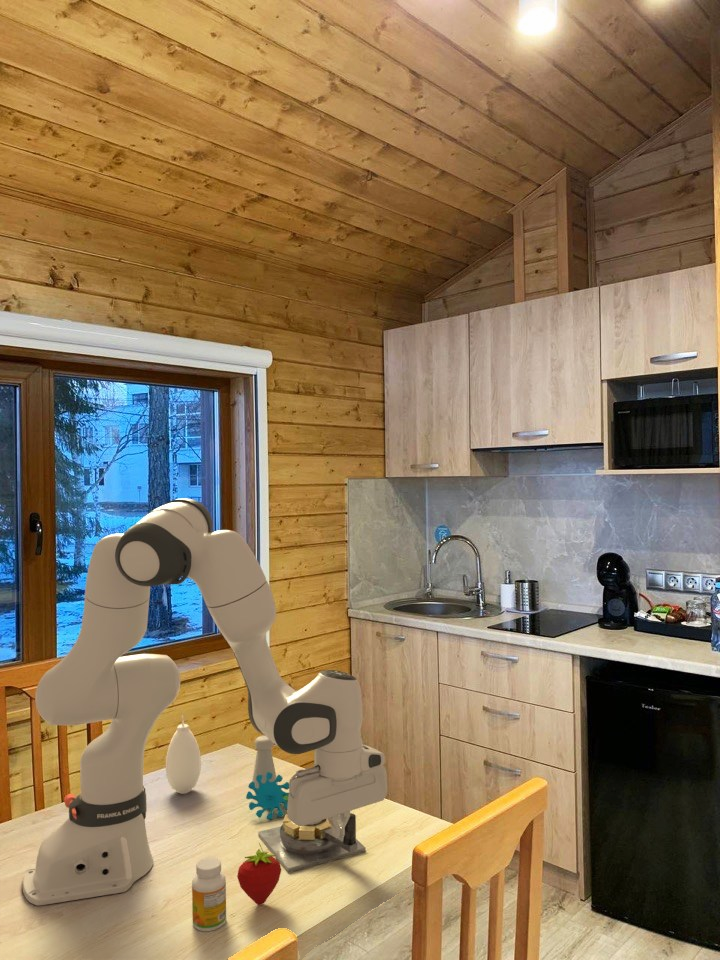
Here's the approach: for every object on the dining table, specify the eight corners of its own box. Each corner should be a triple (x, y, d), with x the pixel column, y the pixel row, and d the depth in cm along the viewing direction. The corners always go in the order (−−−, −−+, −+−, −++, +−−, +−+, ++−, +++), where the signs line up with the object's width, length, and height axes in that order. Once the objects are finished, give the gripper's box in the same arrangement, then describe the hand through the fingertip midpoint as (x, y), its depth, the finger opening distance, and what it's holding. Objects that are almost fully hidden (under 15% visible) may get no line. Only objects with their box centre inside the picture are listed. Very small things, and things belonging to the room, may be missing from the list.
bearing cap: (288, 872, 138) (287, 840, 138) (258, 835, 152) (258, 806, 152) (365, 851, 145) (365, 820, 145) (330, 818, 160) (329, 789, 159)
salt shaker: (250, 790, 174) (249, 734, 174) (274, 787, 176) (274, 731, 175) (254, 801, 168) (253, 743, 168) (279, 797, 170) (279, 740, 170)
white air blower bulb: (196, 799, 169) (195, 719, 169) (161, 799, 170) (160, 719, 169) (204, 785, 177) (203, 708, 177) (172, 785, 177) (170, 708, 177)
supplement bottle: (190, 916, 125) (189, 858, 125) (222, 909, 127) (222, 852, 126) (195, 935, 120) (194, 874, 119) (229, 927, 122) (228, 867, 121)
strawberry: (233, 900, 129) (232, 842, 129) (275, 889, 132) (274, 833, 132) (243, 919, 124) (242, 858, 124) (286, 907, 127) (285, 848, 127)
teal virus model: (246, 817, 157) (247, 770, 164) (242, 828, 161) (243, 782, 168) (299, 817, 160) (297, 771, 167) (293, 828, 164) (291, 783, 171)
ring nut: (331, 862, 135) (331, 827, 135) (273, 826, 149) (273, 794, 149) (374, 843, 142) (374, 809, 142) (315, 810, 156) (315, 780, 156)
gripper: (299, 778, 129) (299, 859, 129) (392, 753, 141) (392, 827, 141) (280, 767, 134) (280, 845, 134) (371, 744, 146) (371, 815, 146)
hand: (338, 836), depth 138 cm, fingers closed
